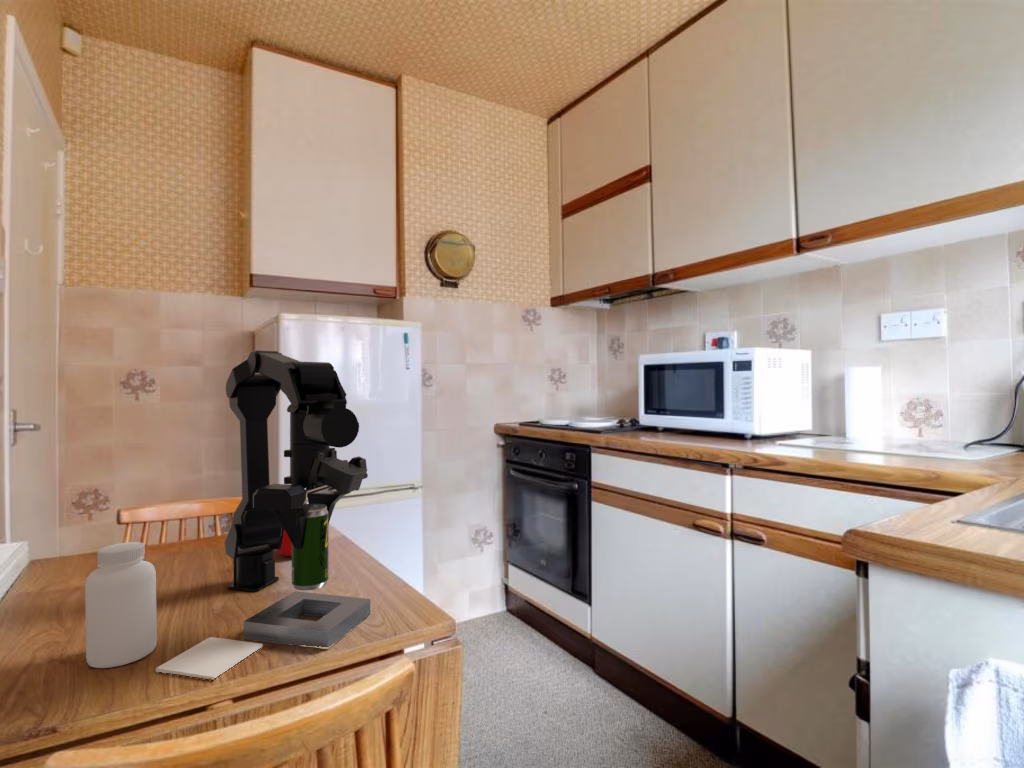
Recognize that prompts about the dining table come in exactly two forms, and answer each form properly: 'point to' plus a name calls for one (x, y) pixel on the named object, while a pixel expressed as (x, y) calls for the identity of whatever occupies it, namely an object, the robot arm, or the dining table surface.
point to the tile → (209, 658)
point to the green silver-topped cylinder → (312, 552)
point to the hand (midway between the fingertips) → (310, 543)
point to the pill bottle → (120, 607)
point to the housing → (286, 627)
